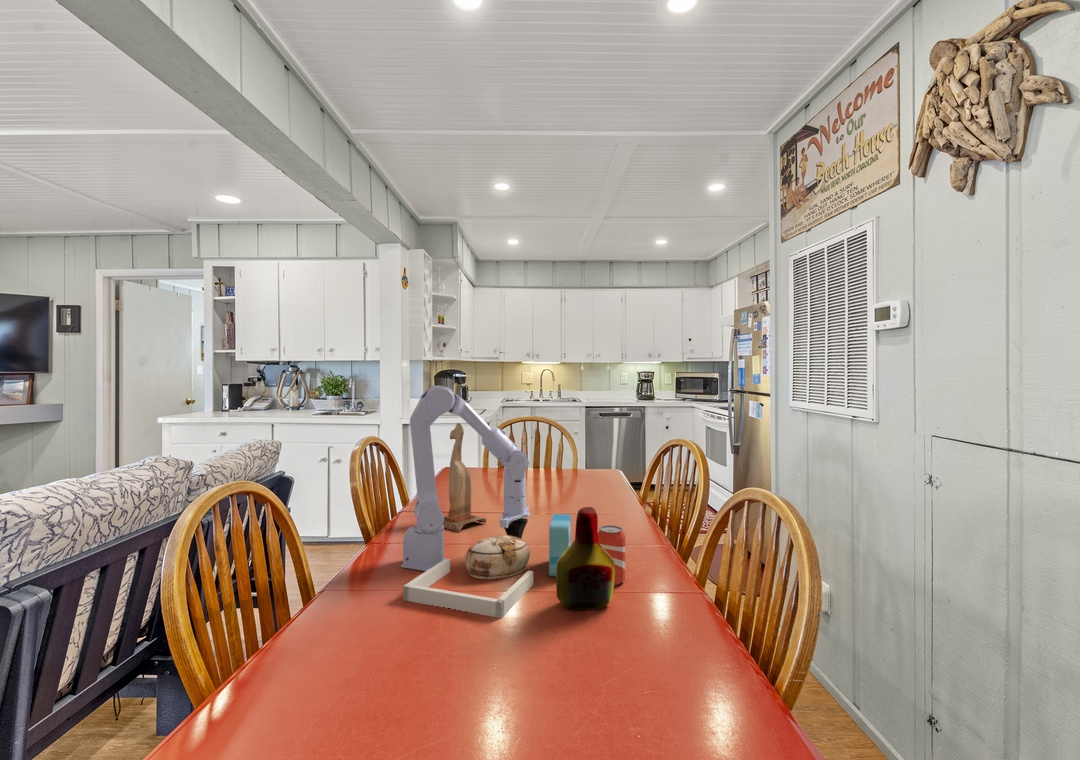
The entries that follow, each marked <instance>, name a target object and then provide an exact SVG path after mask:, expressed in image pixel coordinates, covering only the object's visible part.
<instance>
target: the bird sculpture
mask: <svg viewBox="0 0 1080 760" xmlns="http://www.w3.org/2000/svg"><path fill="white" fill-rule="evenodd" d="M449 434H450V435H449V440H455V442H454V444H453V448H452V452H451V458H450V462H449V473H448V500H449V501H448V502H449V505H450V506H449V509H448V515H447V516H444V522H443V525H444V529H445V528H447V529H446V530H448V529H450V531H451V530H452V531H454V530H455V531H454V532H456V531H459V532H458V533H461V529H462V528H463V527H464V526H465V525H466V524H470V523H472V522H476V521H478V522H477V523H479V522H480V523H481V522H482V523H483V524H485V523H486V524H487V519H486V517H481V516H476V515H473V514H472V479H471V478H472V477H471V473H470V472H469V470H468V468H467V467H466V466H467V465H465V464H464V463H463V461H462V446H463V438H464V427H463V425H462V424H461V423H459V422H457V423H456V424H455V428H453V429H452V430H451V431H450V433H449Z"/></svg>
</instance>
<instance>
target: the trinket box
mask: <svg viewBox="0 0 1080 760" xmlns="http://www.w3.org/2000/svg"><path fill="white" fill-rule="evenodd" d="M530 555H531V553H530V548H529V546H528V544H527V543H526V541H525V540H523V539H520V538H518V537H515V536H509V535H507V534H505V535H504V534H503V535H494V536H493V535H492V536H489V537H485V538H483V539H481V540H478V541H477V542H476V543H474V544H473V545H472V546H470V547H469V548H468V550H466V553H465V558H464V559H465V566H466V569H467V570H468V575H469V576H470V577H472V578H475V579H480V580H495V579H496V578H497V579H503V577H504V578H508V577H513V576H515V575H518V574H520V573H522V572H523V571H525V570H526V569H525V568H527V565H528V563H529V561H530Z"/></svg>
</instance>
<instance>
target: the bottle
mask: <svg viewBox="0 0 1080 760" xmlns="http://www.w3.org/2000/svg"><path fill="white" fill-rule="evenodd" d="M575 520H576V521H575V533H574V534H575V535H574V541H573V542H571V546H570V547H568V548H567V550H566V551H565V552H564V553H563V554H562V555H561V557H560V558H559V560H558V562H557V567H556V577H555V582H556V583H555V587H556V598H557V599H558V601H559V603H561V605H563V606H564V607H566V608H567V609H569V610H593V609H594V610H596V609H603V608H604V607H605V606H608V605H609V604H610V602H611V601H612V598H613V595H614V587H615V585H614V577H615V567H614V562H613V559H612V557H611V556H610V555H609V553H608V552H607V551H606V550H605V549H604V548H603V547H602V546H601V545H600V543H599V539H598V532H599V530H598V527H599V526H598V525H599V524H598V522H599V519H598V514H597V510H596V509H595V508H594V507H592V506H586V507H581V508H579V510H578V512H577V515H576V519H575Z"/></svg>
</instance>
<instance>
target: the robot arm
mask: <svg viewBox="0 0 1080 760" xmlns="http://www.w3.org/2000/svg"><path fill="white" fill-rule="evenodd" d="M447 412H448V413H450V414H452V415H455V416H459V417H460V418H461V419H462V420H463V421H465V422H466V424H468V425H469V426H470V427H471V428H472V429H473V430H474V431H475V432H477V433H478V434H479V435H480V436H481V444H482V445H483V447H485V449H487V451H488V452H490V453H491V455H493V456H494V457H495V458H496V460H498V461H500V463H501V466H502V467H504V468H503V512H502V516H501V518H500V519H499V528H503V529H504V531H505V534H506V535H509V536H515V537H518V538H520V539H522V538H523V535H524V531H525V529H526V526H527V524H528V522H529V521H528V520H529V519H528V518H529V517H531V512H530V511H529V510H530V506H529V505H527V484H526V483H527V478H526V475H527V474H526V471H527V469H528V468H529V465H530V461H529V459H528V456H527V454H526V453H525V452H523V451H522V450H520V449H519V444H517V443H516V442H513V441H512V440H511V439H510V438H509V437H508V436H507V435H506V434H507V431H505V430H504V429H503V428H501V429H500V428H499V427H490V425H488V423H487V422H485V420H484V419H483V418H482V417H481V416H480V415H479V414H478V413H477V412H476V410H475V409H474V408H472V406H471V405H470V404H469V403H468V402H467V401H466V400H464V399H463V398H462V397H461V396H459V395H458V394H456V393H454V391H453V390H452V389H451V388H449V387H447V386H443V385H433V386H431V387H428V388H427V390H426V391H424V392H423V393H422V394H421V396H420V398H419V400H418V402H417V404H416V406H415V407H414V409H413V412H412V414H411V415H410V418H409V426H410V435H411V437H410V438H411V447H412V456H413V466H414V478H415V485H416V486H415V487H416V502H415V506H414V509H413V513H414V517H415V518H416V520H417V521H416V523H415V525H414V526H410V527H408V528H407V530H406V531H405V533H404V536H403V539H402V558H403V559H402V564H401V565H400V566H401V568H403V569H404V568H405V569H411V570H416V571H423V572H426V571H427V570H429V569H430V568H432V567H433V566H435V565H436V564H438V563H440V562H441V561H443V560H444V559H447V558H446V557H445V531H444V530H445V528H444V525H443V522H444V517H445V514H444V512H443V510H442V509H441V508H440V501H439V497H438V491H437V483H436V482H437V481H436V475H435V464H434V463H435V462H434V454H433V452H434V451H433V445H432V433H431V426H432V425H433V423H434V422H435V421H437V419H438V418H439V417H440V416H442V415H444V414H446V413H447ZM522 540H523V539H522ZM449 559H450V562H452V559H451V558H449Z"/></svg>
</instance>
